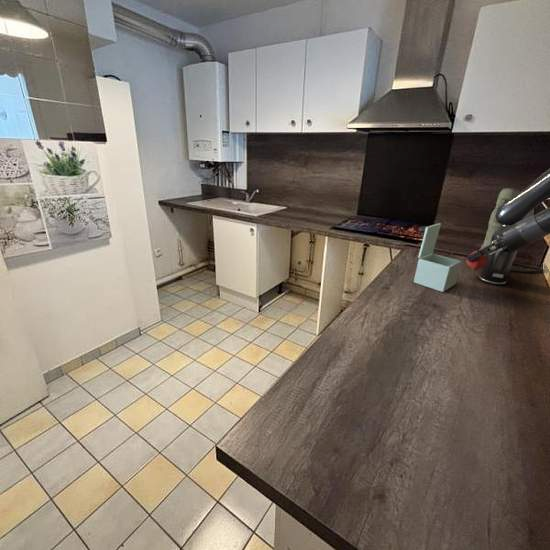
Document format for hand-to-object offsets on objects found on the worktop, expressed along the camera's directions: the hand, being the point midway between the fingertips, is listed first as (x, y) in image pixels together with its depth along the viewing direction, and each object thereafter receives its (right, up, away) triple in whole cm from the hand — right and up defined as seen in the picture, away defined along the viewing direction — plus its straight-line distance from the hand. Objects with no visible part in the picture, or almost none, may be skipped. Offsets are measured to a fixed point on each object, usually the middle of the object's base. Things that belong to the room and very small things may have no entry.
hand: (471, 257), depth 103 cm
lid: (-8, +8, +13) cm, 17 cm away
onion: (+1, -5, +1) cm, 5 cm away
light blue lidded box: (-5, -10, +16) cm, 19 cm away
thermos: (+38, +1, +44) cm, 59 cm away
